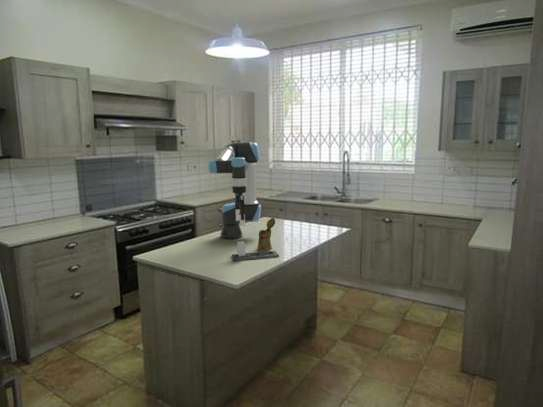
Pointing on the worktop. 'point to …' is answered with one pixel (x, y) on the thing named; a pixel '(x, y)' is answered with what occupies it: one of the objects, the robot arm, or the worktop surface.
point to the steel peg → (240, 249)
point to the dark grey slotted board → (261, 255)
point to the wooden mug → (266, 236)
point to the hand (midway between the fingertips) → (240, 223)
